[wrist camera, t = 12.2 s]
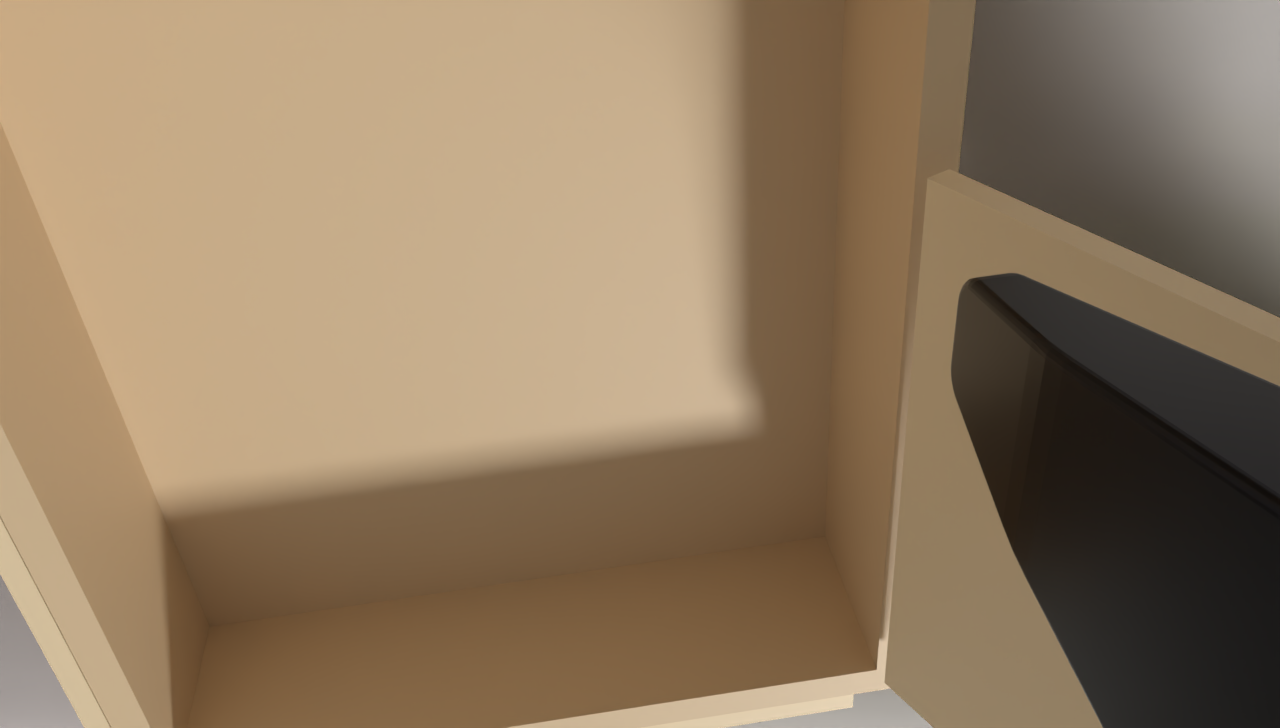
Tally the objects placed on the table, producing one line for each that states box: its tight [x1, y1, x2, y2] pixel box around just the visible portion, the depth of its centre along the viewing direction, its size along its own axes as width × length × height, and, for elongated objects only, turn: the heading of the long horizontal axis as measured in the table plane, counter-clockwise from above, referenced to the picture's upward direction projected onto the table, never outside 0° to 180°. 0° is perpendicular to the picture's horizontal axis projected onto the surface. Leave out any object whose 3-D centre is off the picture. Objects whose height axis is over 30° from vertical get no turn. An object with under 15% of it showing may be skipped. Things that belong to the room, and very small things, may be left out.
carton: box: [0, 0, 976, 728], centre depth 18 cm, size 18×14×4 cm
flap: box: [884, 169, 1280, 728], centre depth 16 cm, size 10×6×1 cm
